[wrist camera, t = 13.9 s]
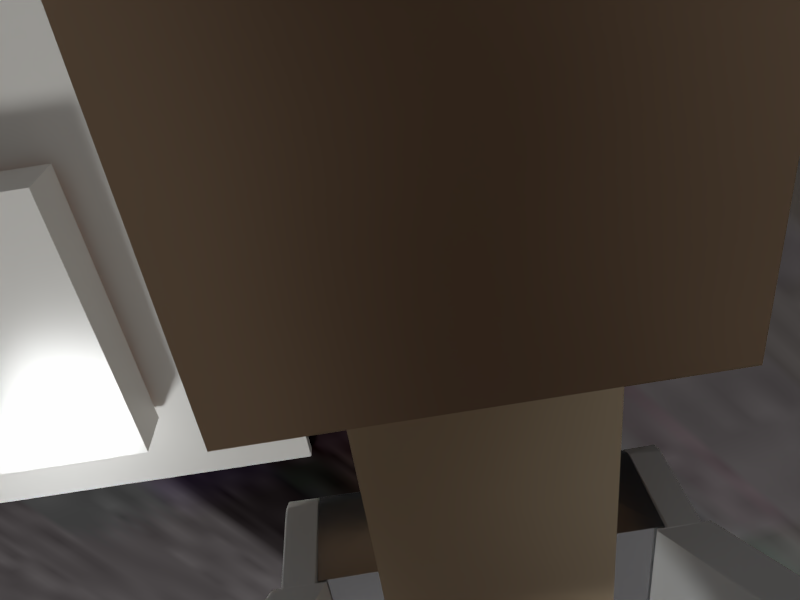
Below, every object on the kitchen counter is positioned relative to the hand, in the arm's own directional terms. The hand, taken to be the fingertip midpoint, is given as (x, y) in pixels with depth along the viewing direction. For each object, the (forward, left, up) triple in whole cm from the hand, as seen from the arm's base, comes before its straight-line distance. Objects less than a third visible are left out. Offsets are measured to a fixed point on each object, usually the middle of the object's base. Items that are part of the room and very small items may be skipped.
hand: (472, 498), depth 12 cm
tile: (+13, +6, -9) cm, 17 cm away
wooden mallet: (0, -1, -2) cm, 2 cm away
